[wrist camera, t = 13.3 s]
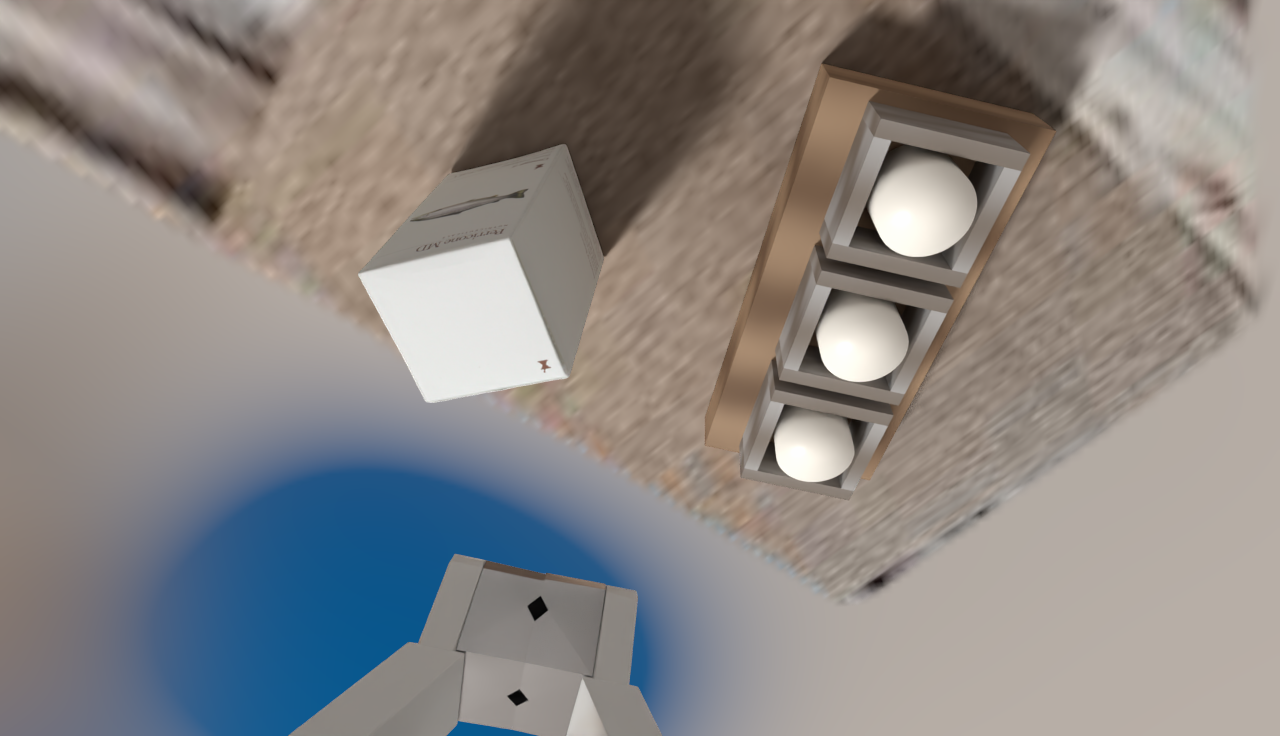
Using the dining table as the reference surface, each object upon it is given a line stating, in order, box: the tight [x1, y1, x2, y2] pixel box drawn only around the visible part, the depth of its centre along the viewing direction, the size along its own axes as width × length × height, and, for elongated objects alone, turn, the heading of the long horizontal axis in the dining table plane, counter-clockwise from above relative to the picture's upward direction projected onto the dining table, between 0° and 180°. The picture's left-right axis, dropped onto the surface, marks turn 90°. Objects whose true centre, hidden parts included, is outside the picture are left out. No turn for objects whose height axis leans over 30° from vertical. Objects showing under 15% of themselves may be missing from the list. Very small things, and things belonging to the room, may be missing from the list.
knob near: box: [866, 145, 977, 257], centre depth 34 cm, size 4×4×3 cm
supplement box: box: [358, 144, 604, 403], centre depth 36 cm, size 7×7×13 cm
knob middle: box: [815, 288, 909, 382], centre depth 38 cm, size 4×4×3 cm
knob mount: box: [705, 63, 1056, 500], centre depth 40 cm, size 23×11×6 cm, turn 168°
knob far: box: [773, 404, 854, 482], centre depth 43 cm, size 4×4×3 cm
